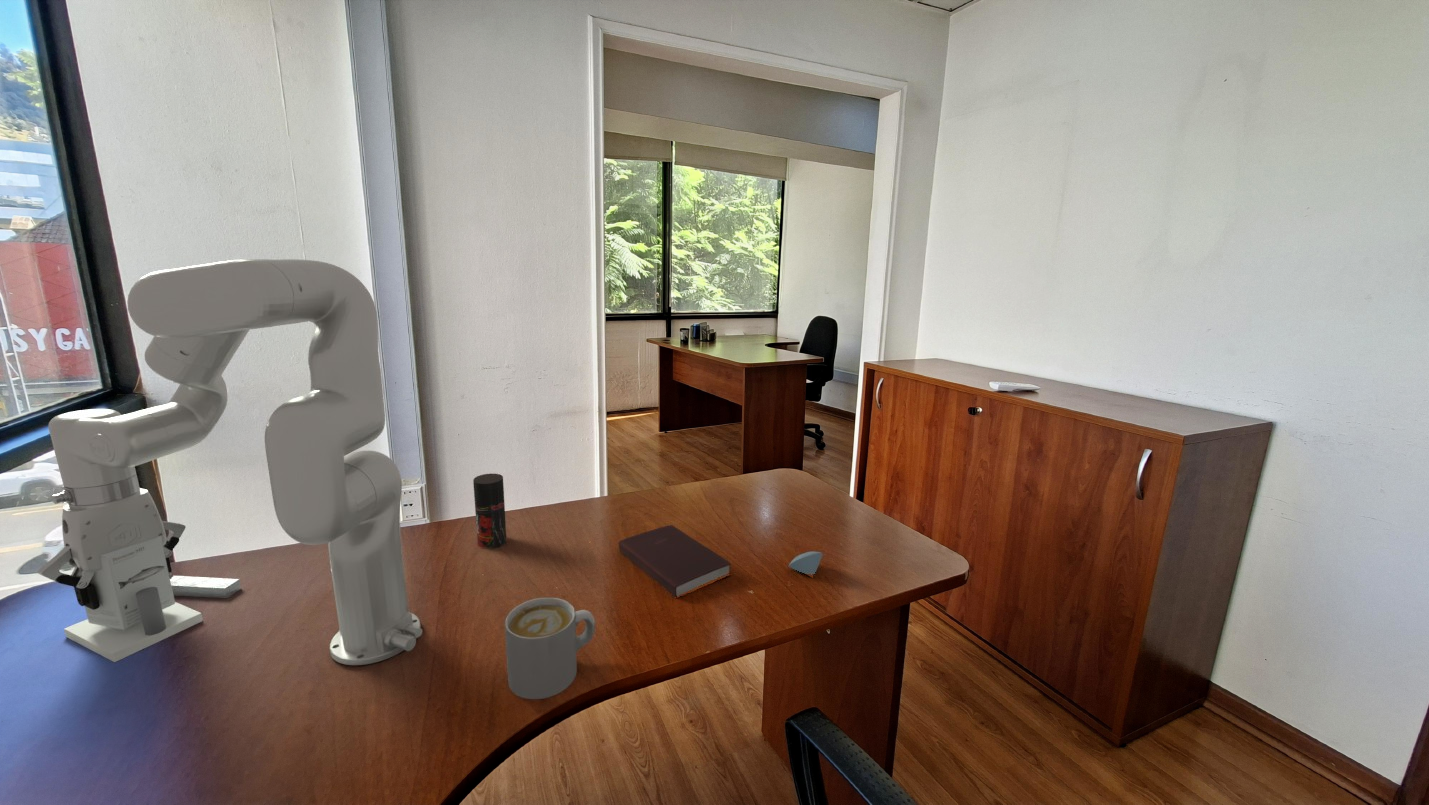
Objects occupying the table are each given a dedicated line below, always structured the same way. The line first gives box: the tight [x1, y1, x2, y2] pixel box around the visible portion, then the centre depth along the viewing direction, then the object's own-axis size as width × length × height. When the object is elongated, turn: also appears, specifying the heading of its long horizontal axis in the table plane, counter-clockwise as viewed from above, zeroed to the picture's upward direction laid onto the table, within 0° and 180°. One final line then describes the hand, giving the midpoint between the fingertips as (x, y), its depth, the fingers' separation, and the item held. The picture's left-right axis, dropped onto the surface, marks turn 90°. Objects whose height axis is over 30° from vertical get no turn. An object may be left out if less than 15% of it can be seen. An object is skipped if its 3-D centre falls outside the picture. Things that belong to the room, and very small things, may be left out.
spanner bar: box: [169, 572, 242, 599], centre depth 101 cm, size 16×4×2 cm, turn 88°
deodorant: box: [472, 473, 507, 550], centre depth 121 cm, size 6×6×15 cm
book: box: [618, 524, 732, 599], centre depth 116 cm, size 14×22×4 cm, turn 39°
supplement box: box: [73, 536, 176, 630], centre depth 88 cm, size 7×7×13 cm
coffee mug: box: [504, 596, 596, 700], centre depth 84 cm, size 13×10×10 cm
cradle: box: [63, 587, 204, 663], centre depth 90 cm, size 14×11×8 cm
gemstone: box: [788, 550, 824, 575], centre depth 114 cm, size 8×8×5 cm
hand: (128, 591), depth 89 cm, fingers closed on supplement box, 8 cm apart
